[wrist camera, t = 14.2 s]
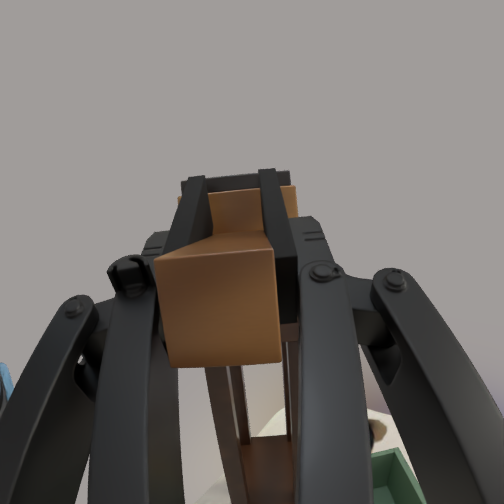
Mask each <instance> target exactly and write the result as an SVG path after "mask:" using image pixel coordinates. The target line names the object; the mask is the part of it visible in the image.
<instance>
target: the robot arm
mask: <svg viewBox="0 0 504 504" xmlns="http://www.w3.org/2000/svg"><path fill="white" fill-rule="evenodd" d="M258 173H259V185H260V196H261V208H262V220H263V229H264V233H265V235H266V237H267V238H268V240H269V242H270V244H271V246H272V248H273V250H274V259H275V271H276V284H277V297H278V310H279V323H280V325H281V324H291V323H297V316H298V322H299V333H298V348H299V389H298V443H297V472H296V494H295V504H374V496H373V476H372V460H371V447H370V436H369V425H368V416H367V407H366V398H365V390H364V383H363V375H362V369H361V368H362V367H361V361H360V354H359V348H358V344H360V345H361V348H362V350H363V352H364V354H365V357H366V359H367V361H368V363H369V365H370V368H371V370H372V372H373V374H374V376H375V379H376V381H377V383H378V385H379V388H380V390H381V392H382V394H383V397H384V399H385V401H386V403H387V406H388V408H389V410H390V413H391V415H392V417H393V420H394V422H395V425H396V427H397V429H398V432H399V434H400V437H401V439H402V441H403V444H404V446H405V449H406V451H407V454H408V456H409V459H410V461H411V464H412V466H413V469H414V472H415V474H416V477H417V479H418V482H419V485H420V487H421V490H422V493H423V495H424V498H425V501H426V504H504V418H503V416H502V414H501V412H500V410H499V408H498V407H497V405H496V403H495V401H494V399H493V398H492V396H491V394H490V392H489V390H488V389H487V387H486V385H485V384H484V382H483V380H482V379H481V377H480V375H479V374H478V372H477V370H476V369H475V367H474V365H473V364H472V362H471V361H470V359H469V357H468V356H467V354H466V353H465V351H464V349H463V348H462V346H461V345H460V343H459V342H458V340H457V339H456V337H455V336H454V334H453V333H452V331H451V330H450V328H449V327H448V325H447V324H446V323H445V321H444V320H443V318H442V317H441V315H440V314H439V312H438V311H437V309H436V308H435V307H434V305H433V304H432V303H431V301H430V300H429V298H428V297H427V296H426V294H425V293H424V291H423V290H422V289H421V287H420V286H419V285H418V283H417V282H416V281H415V279H414V278H413V277H412V276H411V275H410V274H409V273H407V272H405V271H403V270H401V269H396V268H384V269H382V270H379V271H378V272H377V273H376V274H375V275H374V277H373V280H370V279H361V278H356V277H352V276H349V275H347V274H345V272H344V270H343V268H342V267H340V266H339V265H338V264H336V263H335V262H334V259H333V256H332V254H331V252H330V249H329V246H328V243H327V241H326V239H325V236H324V233H323V231H322V228H321V226H320V223H319V222H318V221H316V220H315V219H314V218H313V217H312V216H307V217H294V218H288V215H287V211H286V207H285V203H284V199H283V196H282V192H281V188H280V184H279V181H278V177H277V173H276V170H275V168H272V169H260V170H258ZM213 227H214V226H213V221H212V215H211V209H210V203H209V197H208V191H207V185H206V179H205V176H204V175H202V176H194V177H189V178H188V180H187V182H186V185H185V188H184V191H183V194H182V196H181V199H180V202H179V205H178V208H177V211H176V213H175V216H174V219H173V222H172V225H171V228H170V230H169V231H161V232H155V233H154V234H153V235H151V237H149V238H148V239H147V241H146V244H145V246H144V250H143V251H142V254H141V255H128V256H125V257H122V258H120V259H118V260H116V261H115V262H114V263H113V264H112V265H111V266H110V267H109V268H108V270H107V274H108V276H109V279H110V281H111V283H112V286H113V287H114V290H115V292H116V294H115V297H114V298H112V299H109V300H106V301H103V302H100V303H96V304H94V302H93V300H92V299H91V298H90V297H89V296H87V295H76V296H74V297H71V298H69V299H68V300H67V301H65V302H64V303H63V304H62V305H61V306H60V308H59V309H58V311H57V312H56V314H55V316H54V317H53V319H52V321H51V322H50V324H49V326H48V327H47V329H46V331H45V333H44V334H43V336H42V338H41V339H40V341H39V343H38V345H37V346H36V348H35V350H34V352H33V354H32V355H31V357H30V359H29V361H28V363H27V365H26V366H25V368H24V370H23V372H22V374H21V376H20V378H19V380H18V382H17V384H16V386H15V388H14V387H13V383H12V380H11V376H10V373H9V370H8V368H7V366H6V365H5V364H4V363H0V504H75V501H76V498H77V494H78V491H79V487H80V484H81V480H82V477H83V473H84V470H85V467H86V464H87V461H88V457H89V454H90V460H89V476H88V504H185V499H184V489H183V475H182V461H181V446H180V427H179V401H178V400H179V399H178V368H171V367H170V363H169V358H168V352H167V347H166V342H165V336H164V330H163V324H162V318H161V312H160V305H159V299H158V292H157V285H156V277H155V270H154V262H153V261H154V259H155V258H157V257H160V256H162V255H165V254H167V253H170V252H172V251H175V250H177V249H180V248H182V247H185V246H187V245H190V244H193V243H195V242H198V241H200V240H203V239H205V238H208V237H210V236H212V235H213ZM81 355H82V357H83V359H82V361H81V362H80V363H78V360H79V357H80V356H81Z"/></svg>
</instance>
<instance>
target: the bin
mask: <svg viewBox="0 0 504 504" xmlns="http://www.w3.org/2000/svg"><path fill="white" fill-rule="evenodd" d="M371 460H372V476H373V496H374V504H426V501H425V498H424V495H423V493H422V490H421V487H420V485H419V483H418V481H417V480H416V478H415V476H414V474H413V472H412V471H411V469H410V467H409V465H408V464H407V462H406V460H405V458H404V457H403V455H402V453H401V451H400V450H399V448H398V447H397V448H393V449H389V450H385V451H381V452H376V453H372V454H371Z"/></svg>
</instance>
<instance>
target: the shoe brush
mask: <svg viewBox="0 0 504 504" xmlns="http://www.w3.org/2000/svg"><path fill="white" fill-rule="evenodd" d="M276 173H277V177H278V181H279V184H280V188H281V192H282V196H283V199H284V203H285V207H286V211H287V215H288V218H294V217H298V209H297V197H296V187H295V186H294V185H291V180H290V172H289V171H276ZM205 179H206V185H207V191H208V197H209V203H210V209H211V215H212V221H213V226H214V227H213V235H212V236H210V237H208V238H205V239H203V240H200V241H198V242H195V243H193V244H190V245H187V246H185V247H182V248H180V249H177V250H175V251H172V252H170V253H167V254H165V255H162V256H160V257H157V258H155V259H154V261H153V262H154V270H155V277H156V285H157V292H158V299H159V305H160V312H161V318H162V324H163V330H164V336H165V342H166V347H167V352H168V358H169V363H170V367H171V368H199V367H200V368H201V367H225V366H242V365H256V364H267V363H279V362H281V361H282V351H281V337H280V323H279V310H278V297H277V284H276V271H275V259H274V250H273V248H272V246H271V244H270V242H269V240H268V238H267V237H266V235H265V233H264V229H263V220H262V208H261V196H260V185H259V173H252V174H240V175H230V176H221V177H212V178H205ZM186 182H187V181H181V191H182V194H183V191H184V188H185V185H186ZM180 199H181V196H179V197H178V205H179V202H180Z"/></svg>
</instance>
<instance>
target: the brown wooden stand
mask: <svg viewBox="0 0 504 504" xmlns="http://www.w3.org/2000/svg"><path fill="white" fill-rule="evenodd" d="M298 333H299V322H298V316H297V323H291V324H281V325H280V337H281V351H282V367H283V383H284V399H285V416H286V434H287V435H277V436H264V437H251V432H250V425H249V416H248V408H247V400H246V392H245V383H244V376H243V366H225V367H204V368H205V373H206V380H207V386H208V392H209V397H210V402H211V408H212V414H213V419H214V424H215V430H216V435H217V440H218V445H219V449H220V454H221V459H222V464H223V468H224V473H225V477H226V482H227V486H228V491H229V495H230V499H231V503H232V504H295V494H296V472H297V443H298V389H299V348H298Z"/></svg>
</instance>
